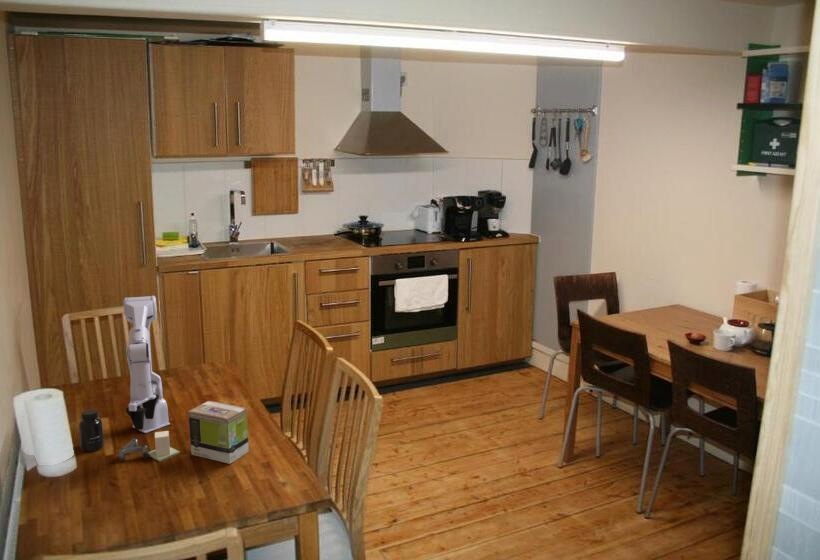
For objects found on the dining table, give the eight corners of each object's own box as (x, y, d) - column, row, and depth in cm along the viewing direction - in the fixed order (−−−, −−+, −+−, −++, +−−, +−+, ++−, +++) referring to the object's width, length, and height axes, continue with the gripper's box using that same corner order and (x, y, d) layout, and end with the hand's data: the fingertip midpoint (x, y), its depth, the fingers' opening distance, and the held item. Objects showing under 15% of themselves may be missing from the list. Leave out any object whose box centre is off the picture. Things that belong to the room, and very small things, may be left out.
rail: (136, 448, 233) (135, 438, 232) (151, 456, 228) (150, 445, 227) (113, 457, 227) (112, 446, 226) (128, 465, 222) (127, 454, 221)
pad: (166, 446, 234) (166, 445, 234) (179, 453, 230) (179, 451, 230) (146, 454, 229) (146, 453, 229) (159, 461, 225) (159, 459, 224)
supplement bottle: (95, 453, 230) (92, 417, 227) (76, 451, 231) (72, 415, 228) (108, 443, 236) (105, 408, 233) (89, 441, 238) (86, 406, 235)
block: (156, 450, 231) (154, 432, 229) (169, 448, 232) (168, 430, 230) (156, 456, 227) (154, 437, 225) (170, 454, 228) (168, 436, 227)
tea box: (250, 451, 232) (247, 407, 228) (229, 465, 223) (227, 419, 219) (211, 442, 238) (208, 398, 234) (189, 455, 229) (186, 410, 225)
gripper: (143, 391, 217) (147, 434, 220) (163, 373, 231) (166, 414, 234) (120, 390, 218) (124, 433, 221) (141, 373, 232) (144, 413, 235)
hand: (144, 423), depth 228 cm, fingers open, 7 cm apart
